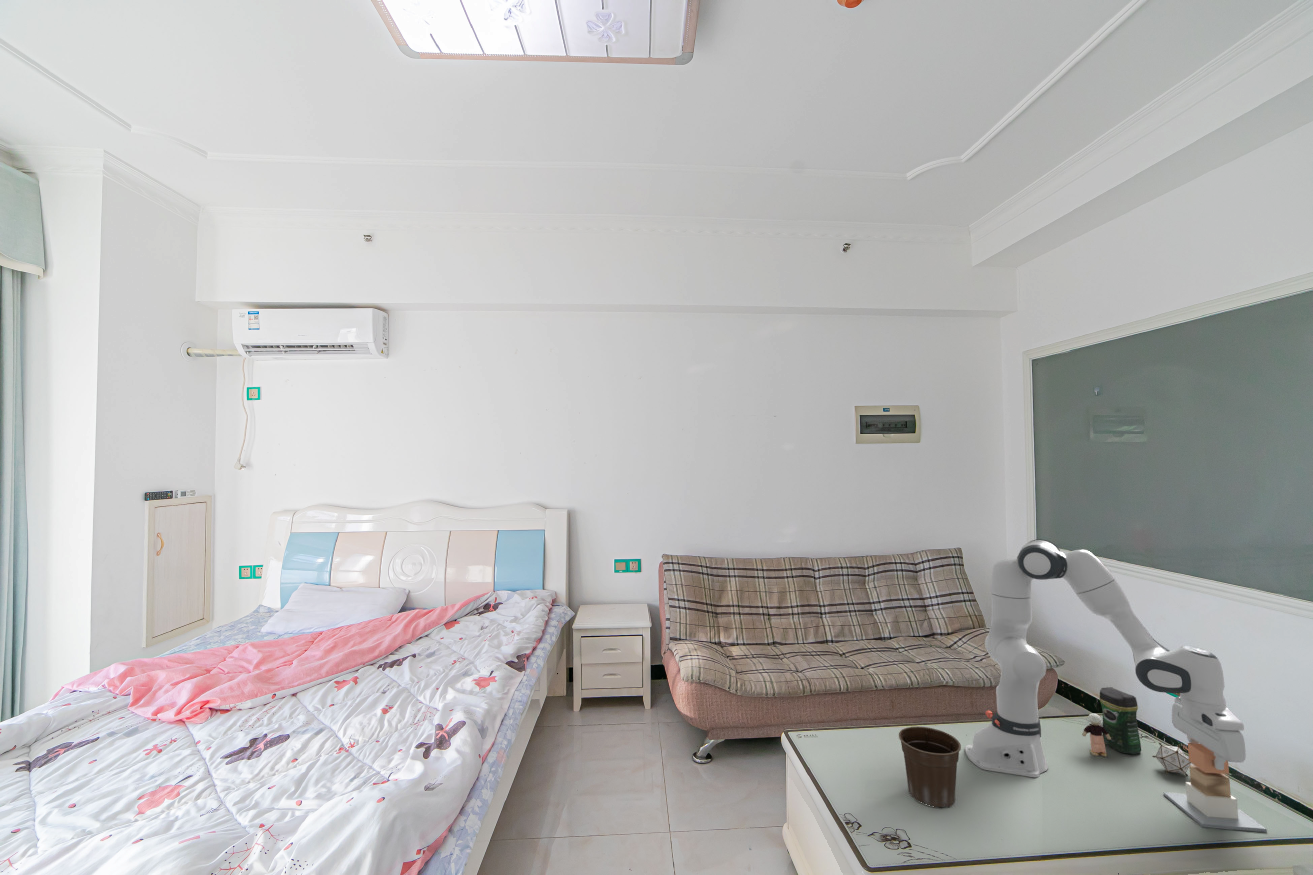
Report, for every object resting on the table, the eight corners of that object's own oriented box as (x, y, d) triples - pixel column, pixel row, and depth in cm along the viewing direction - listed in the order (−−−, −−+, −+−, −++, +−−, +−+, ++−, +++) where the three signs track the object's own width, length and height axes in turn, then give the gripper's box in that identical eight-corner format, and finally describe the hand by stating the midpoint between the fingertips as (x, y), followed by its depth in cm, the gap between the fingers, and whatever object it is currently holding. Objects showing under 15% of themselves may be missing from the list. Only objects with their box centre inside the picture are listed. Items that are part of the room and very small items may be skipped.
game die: (1177, 782, 167) (1190, 753, 169) (1191, 787, 160) (1205, 756, 162) (1142, 761, 172) (1155, 733, 173) (1155, 764, 164) (1169, 735, 166)
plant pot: (961, 786, 162) (958, 731, 163) (966, 819, 148) (963, 758, 149) (902, 775, 169) (899, 722, 170) (901, 805, 155) (898, 747, 155)
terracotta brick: (1205, 772, 146) (1203, 753, 146) (1189, 761, 151) (1187, 742, 152) (1229, 773, 145) (1227, 754, 145) (1212, 762, 150) (1210, 744, 151)
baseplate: (1202, 826, 142) (1200, 803, 142) (1163, 794, 156) (1162, 773, 156) (1266, 831, 139) (1264, 808, 140) (1221, 798, 153) (1219, 777, 153)
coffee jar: (1147, 753, 177) (1142, 695, 178) (1126, 756, 176) (1121, 697, 177) (1117, 739, 187) (1113, 683, 188) (1097, 741, 185) (1093, 685, 186)
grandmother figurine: (1105, 750, 180) (1102, 711, 180) (1114, 756, 176) (1111, 716, 176) (1080, 750, 180) (1077, 710, 181) (1088, 756, 177) (1085, 716, 177)
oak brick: (1206, 795, 146) (1205, 776, 146) (1190, 783, 151) (1189, 764, 151) (1230, 797, 145) (1229, 777, 145) (1213, 785, 150) (1212, 766, 150)
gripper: (1162, 692, 160) (1166, 741, 159) (1220, 725, 140) (1225, 781, 139) (1187, 693, 159) (1191, 742, 158) (1249, 727, 138) (1254, 783, 138)
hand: (1207, 761), depth 148 cm, fingers closed on terracotta brick, 5 cm apart
